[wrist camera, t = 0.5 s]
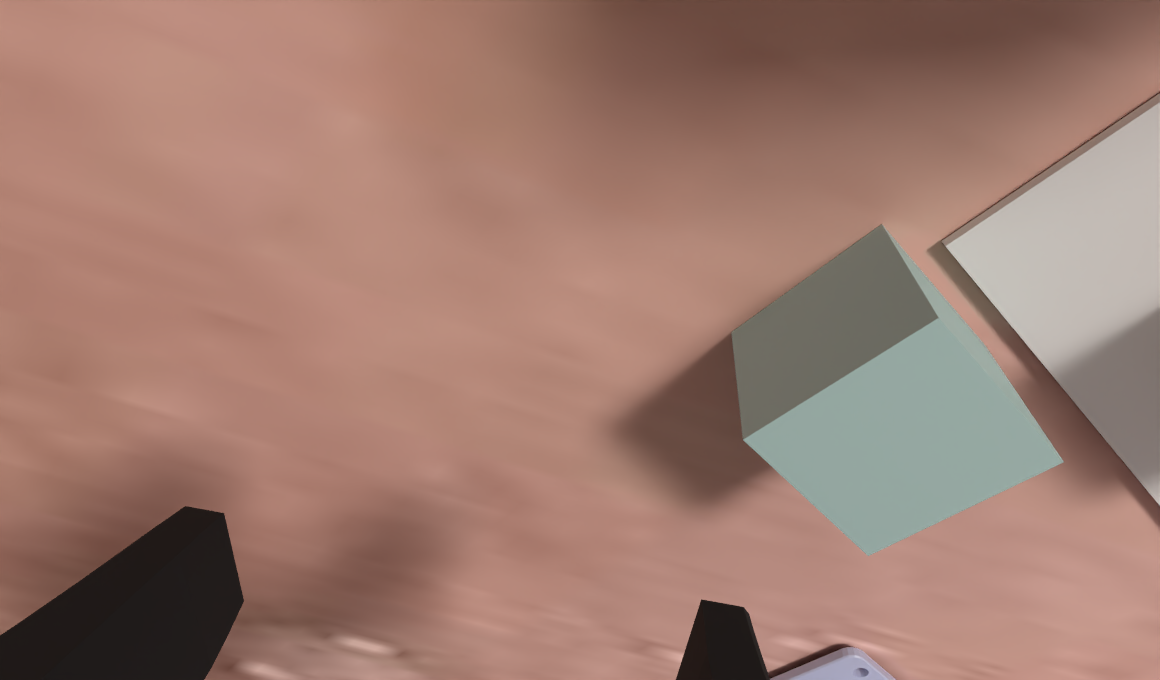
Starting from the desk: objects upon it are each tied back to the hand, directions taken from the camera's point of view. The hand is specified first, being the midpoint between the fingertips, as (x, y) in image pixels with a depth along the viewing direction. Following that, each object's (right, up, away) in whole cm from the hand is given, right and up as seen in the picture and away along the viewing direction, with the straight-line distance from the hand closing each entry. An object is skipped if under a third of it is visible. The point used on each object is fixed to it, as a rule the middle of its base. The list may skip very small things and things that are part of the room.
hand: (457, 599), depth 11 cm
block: (+9, +4, +8) cm, 13 cm away
